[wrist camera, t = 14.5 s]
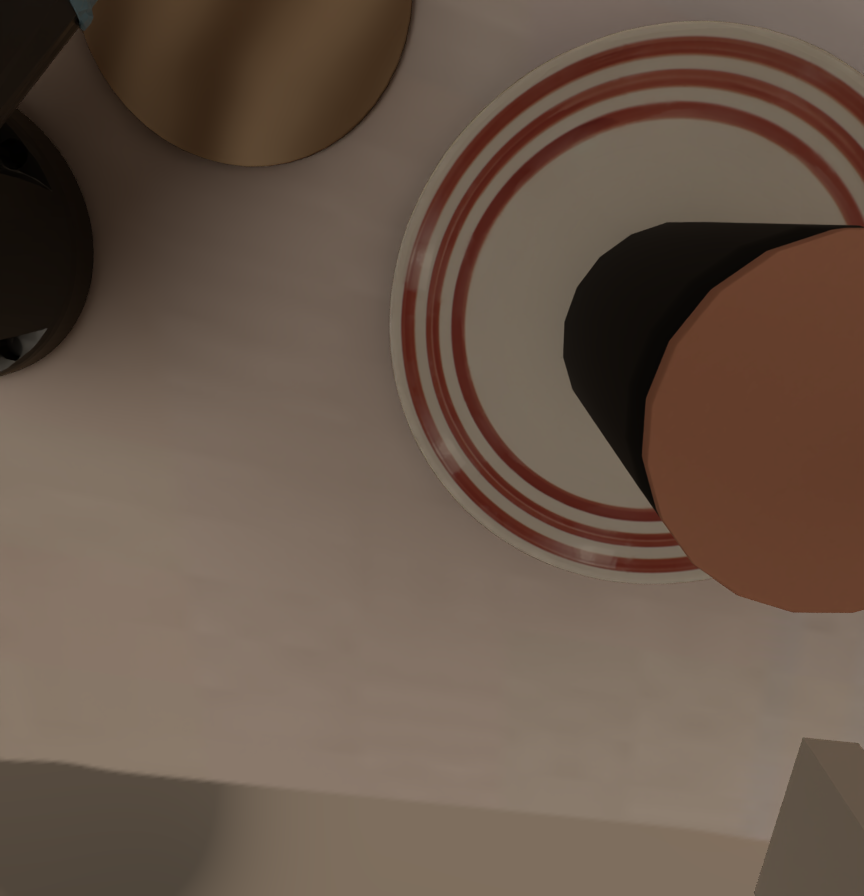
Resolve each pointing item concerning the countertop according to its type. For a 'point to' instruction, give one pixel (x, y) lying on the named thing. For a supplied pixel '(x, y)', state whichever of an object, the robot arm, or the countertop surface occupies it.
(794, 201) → the dinner plate
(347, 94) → the cork trivet
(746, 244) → the coffee jar
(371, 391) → the countertop surface
